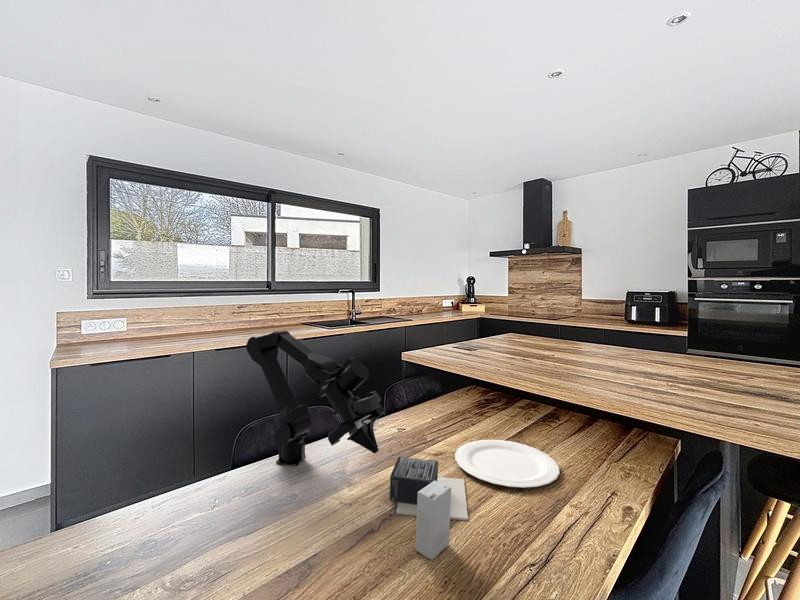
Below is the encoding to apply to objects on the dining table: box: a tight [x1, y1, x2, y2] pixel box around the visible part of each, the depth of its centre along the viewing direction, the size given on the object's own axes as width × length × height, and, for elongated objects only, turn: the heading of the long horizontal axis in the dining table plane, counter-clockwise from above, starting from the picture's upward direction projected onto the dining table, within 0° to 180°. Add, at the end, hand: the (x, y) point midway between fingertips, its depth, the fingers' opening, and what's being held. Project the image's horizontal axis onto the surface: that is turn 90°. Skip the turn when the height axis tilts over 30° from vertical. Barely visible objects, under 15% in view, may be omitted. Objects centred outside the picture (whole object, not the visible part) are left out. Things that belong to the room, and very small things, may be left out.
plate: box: [454, 439, 560, 489], centre depth 110 cm, size 29×29×2 cm
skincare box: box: [414, 481, 451, 561], centre depth 74 cm, size 6×4×12 cm
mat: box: [395, 476, 469, 522], centre depth 93 cm, size 16×17×1 cm
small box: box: [389, 456, 439, 504], centre depth 93 cm, size 11×6×10 cm
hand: (376, 452), depth 95 cm, fingers closed
